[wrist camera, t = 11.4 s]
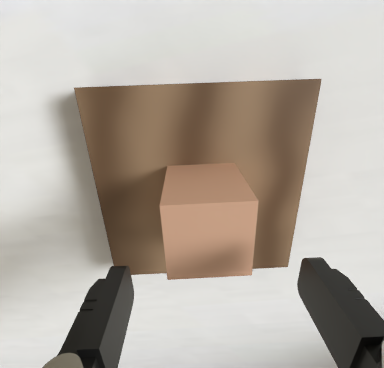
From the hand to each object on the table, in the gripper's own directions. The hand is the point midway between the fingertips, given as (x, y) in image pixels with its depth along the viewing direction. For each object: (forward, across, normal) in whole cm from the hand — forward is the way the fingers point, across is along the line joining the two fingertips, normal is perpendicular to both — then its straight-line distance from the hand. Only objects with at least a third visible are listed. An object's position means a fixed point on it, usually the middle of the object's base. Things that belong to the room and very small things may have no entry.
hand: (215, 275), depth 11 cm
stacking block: (+8, 0, 0) cm, 8 cm away
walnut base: (+11, 0, 0) cm, 11 cm away
